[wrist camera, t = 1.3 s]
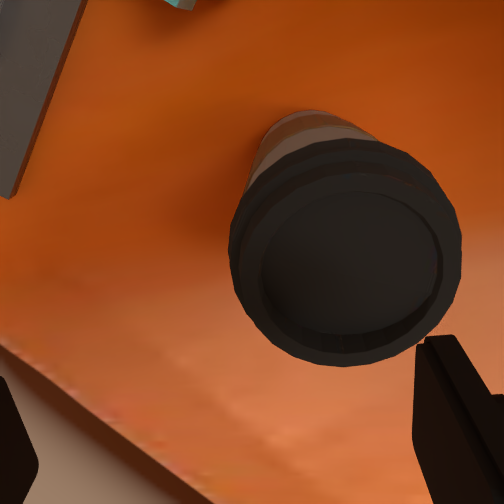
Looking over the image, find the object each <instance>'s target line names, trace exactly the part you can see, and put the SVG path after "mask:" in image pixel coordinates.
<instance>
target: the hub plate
mask: <svg viewBox="0 0 504 504" xmlns="http://www.w3.org/2000/svg"><path fill="white" fill-rule="evenodd" d="M87 1H88V0H0V196H2V197H4V198H6V199H8V200H9V199H10V198H12V197H13V196H15V195H16V193H17V190H18V187H19V185H20V182H21V179H22V177H23V174H24V171H25V169H26V166H27V163H28V160H29V158H30V155H31V152H32V150H33V147H34V144H35V142H36V139H37V136H38V133H39V131H40V128H41V125H42V123H43V120H44V117H45V115H46V112H47V109H48V106H49V104H50V101H51V98H52V96H53V93H54V90H55V88H56V85H57V82H58V79H59V77H60V74H61V71H62V69H63V66H64V63H65V61H66V58H67V55H68V52H69V50H70V47H71V44H72V42H73V39H74V36H75V34H76V31H77V28H78V25H79V23H80V20H81V17H82V15H83V12H84V9H85V7H86V4H87Z"/></svg>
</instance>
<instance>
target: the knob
mask: <svg viewBox="0 0 504 504" xmlns="http://www.w3.org/2000/svg"><path fill="white" fill-rule="evenodd" d="M165 1H166V2H168V3H170V4H171V5H173V6H174V7H176V8H181V9H185V10H190V11H192V10H193V7H194V5H195V3H196V1H197V0H165Z"/></svg>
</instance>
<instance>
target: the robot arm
mask: <svg viewBox="0 0 504 504" xmlns="http://www.w3.org/2000/svg"><path fill="white" fill-rule="evenodd" d="M412 441H413V446H414V450H415V454H416V456H417V459H418V462H419V465H420V467H421V470H422V473H423V476H424V479H425V481H426V484H427V487H428V490H429V493H430V495H431V498H432V501H433V504H504V395H503V394H495V395H491V393H490V392H489V390H488V388H487V387H486V385H485V384H484V382H483V380H482V379H481V377H480V375H479V374H478V372H477V371H476V369H475V367H474V366H473V364H472V363H471V361H470V359H469V358H468V356H467V354H466V353H465V351H464V350H463V348H462V346H461V345H460V343H459V342H458V340H457V338H456V337H455V336H454V335H452V334H451V335H438V336H427V337H425V340H424V343H423V344H417V346H416V356H415V378H414V400H413V421H412ZM38 467H39V463H38V458H37V455H36V453H35V450H34V448H33V446H32V443H31V441H30V438H29V436H28V434H27V431H26V429H25V426H24V424H23V422H22V419H21V417H20V414H19V412H18V410H17V407H16V405H15V402H14V400H13V398H12V395H11V393H10V391H9V388H8V386H7V383H6V381H5V380H4V378H3V377H2V376H0V504H23V502H24V500H25V498H26V496H27V494H28V492H29V489H30V488H31V486H32V483H33V482H34V480H35V478H36V475H37V473H38Z"/></svg>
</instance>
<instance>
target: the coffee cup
mask: <svg viewBox="0 0 504 504" xmlns="http://www.w3.org/2000/svg"><path fill="white" fill-rule="evenodd" d="M461 242H462V234H461V231H460V227H459V224H458V220H457V216H456V213H455V209H454V207H453V206H452V204H451V203H450V201H449V200H448V198H447V197H446V195H445V193H444V192H443V190H442V189H441V187H440V186H439V184H438V183H437V181H436V180H435V178H434V177H433V175H432V174H431V172H430V171H429V170H428V169H426V168H425V167H424V166H423V165H421V164H420V163H419V162H418V161H417V160H415V159H414V158H413V157H412V156H410V155H409V154H408V153H406V152H404V151H401V150H399V149H396V148H394V147H391V146H389V145H387V144H384V143H382V142H380V141H378V140H377V139H376V138H375V137H373V136H372V135H370V134H369V133H367V132H365V131H364V130H362V129H360V128H359V127H357V126H355V125H354V124H352V123H350V122H348V121H345V120H343V119H341V118H339V117H337V116H335V115H332V114H330V113H327V112H325V111H316V110H307V111H300V112H295V113H293V114H291V115H289V116H286V117H284V118H282V119H281V120H280V121H278V122H277V123H276V124H275V125H273V126H272V127H271V128H270V130H269V131H268V132H267V134H266V135H265V136H264V138H263V139H262V142H261V145H260V146H259V148H258V151H257V153H256V156H255V158H254V161H253V164H252V167H251V170H250V173H249V176H248V180H247V183H246V186H245V189H244V193H243V196H242V198H241V200H240V202H239V205H238V207H237V210H236V212H235V215H234V217H233V220H232V222H231V225H230V236H229V246H228V255H229V260H230V262H229V263H230V269H231V275H232V280H233V285H234V290H235V293H236V295H237V297H238V299H239V300H240V302H241V304H242V306H243V308H244V310H245V312H246V314H247V315H248V316H249V317H250V318H251V319H252V320H253V322H254V324H255V325H256V327H257V328H258V329H259V330H260V331H261V332H262V333H263V334H264V335H265V336H266V337H267V338H268V340H269V341H270V342H271V343H272V344H274V345H275V346H277V347H279V348H280V349H282V350H283V351H285V352H287V353H288V354H290V355H291V356H293V357H296V358H299V359H302V360H305V361H308V362H311V363H314V364H317V365H326V366H336V367H350V366H359V365H367V364H372V363H375V362H378V361H381V360H384V359H387V358H390V357H393V356H396V355H398V354H399V353H401V352H403V351H404V350H406V349H408V348H410V347H411V346H413V345H415V344H417V343H418V342H419V341H420V340H422V339H423V338H424V337H425V336H426V335H427V334H428V333H429V332H430V331H431V330H432V329H433V328H435V327H436V326H437V325H438V324H439V322H440V321H441V319H442V318H443V316H444V315H445V313H446V312H447V310H448V309H449V307H450V306H451V304H452V303H453V300H454V297H455V294H456V291H457V288H458V285H459V282H460V279H461V262H462V251H461Z"/></svg>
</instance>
